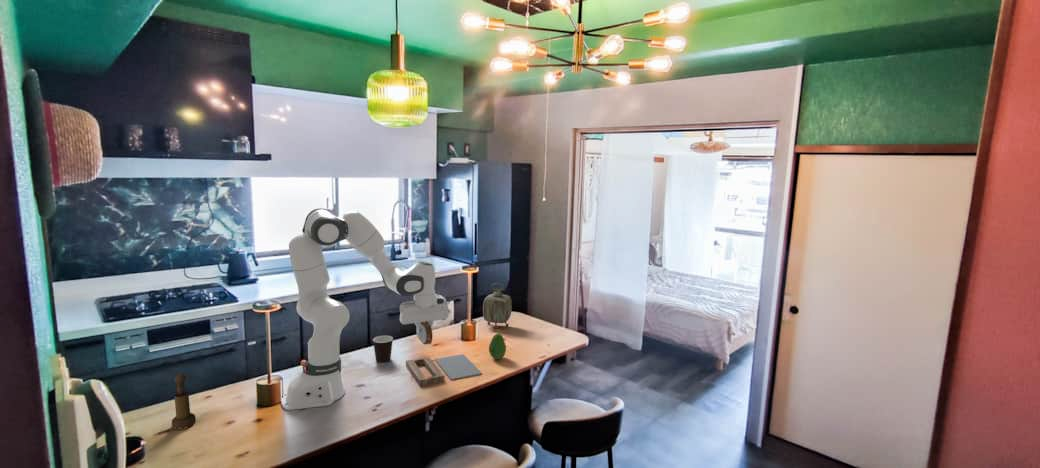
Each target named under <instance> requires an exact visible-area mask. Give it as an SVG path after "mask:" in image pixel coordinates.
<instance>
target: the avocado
mask: <svg viewBox="0 0 1040 468" xmlns="http://www.w3.org/2000/svg"><path fill="white" fill-rule="evenodd" d="M506 351H507V346H506V342H505V340H504V337H503V335H502V334H500V333H496V334H495V335H493V336H492V338H491V340H490V343H489V345H488V352H489V355H490V357H492V358H493V359H495V360H502V359H503V358H504V356H505V355H506Z"/></svg>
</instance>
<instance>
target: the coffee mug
mask: <svg viewBox="0 0 1040 468" xmlns="http://www.w3.org/2000/svg"><path fill="white" fill-rule="evenodd" d="M393 341H394V338H393V336H391V335H378V336H375V337H373V339H372V343H373V349H374V355H375V357H374V358H375V362H376V363H379V364H385V363H389V362H391V358H392V350H393V348H392V347H393Z"/></svg>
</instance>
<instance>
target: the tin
mask: <svg viewBox="0 0 1040 468" xmlns="http://www.w3.org/2000/svg"><path fill="white" fill-rule="evenodd" d="M429 323H430V322H429V321H427V322H419V325H418V326H419V327H421V328H422V332H418V331H417V327H416V329H415V332H416V333H415V334H416V336H417V338H418V339H419V340H420V342H421V343H422V344H423V345H431V344H432V341H433V330H432V329H433V328H432V327H431V326H430V324H429Z"/></svg>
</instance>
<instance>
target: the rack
mask: <svg viewBox="0 0 1040 468" xmlns="http://www.w3.org/2000/svg"><path fill="white" fill-rule="evenodd" d="M422 365H424V367H425V368H426V370H427V372H429V373H430V375H431V376H427V377H426V375H424V373H423V371H422V370H421V368H420V367H419V366H422ZM405 367H406V368H407V370H408V371H409V372H410V374H411V375H412V377H413V379H414V380H415V381H416V383H417V384H418V386H419V387H423V386H428V385H434V384H438V383H443V382H445V373H444V372H443V371H442V370H440V367H439V366H437V365H436V362H435V361H433V360H432V358H431V357H430V356H425V357H424V356H423V357H419V358H413V359H408V360H405Z"/></svg>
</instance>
